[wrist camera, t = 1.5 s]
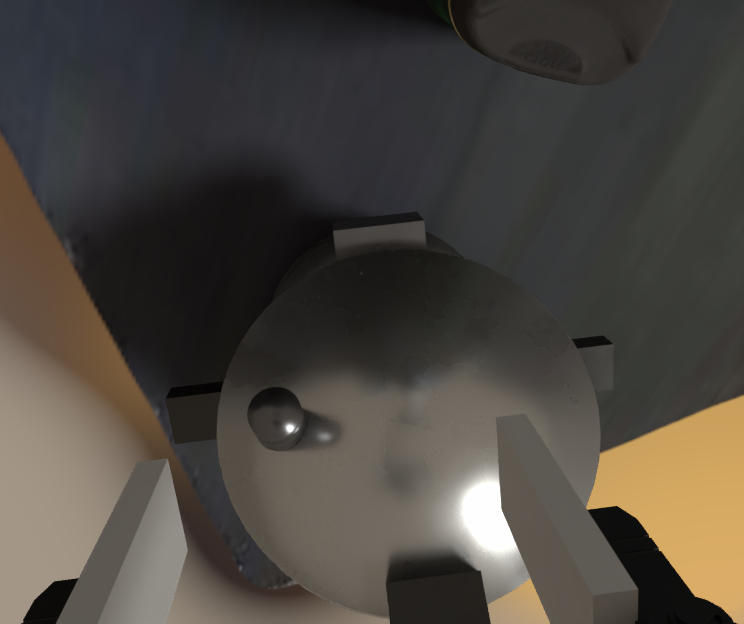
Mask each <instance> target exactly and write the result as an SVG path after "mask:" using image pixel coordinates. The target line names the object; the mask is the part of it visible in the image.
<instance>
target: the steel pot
mask: <svg viewBox="0 0 744 624" xmlns="http://www.w3.org/2000/svg"><path fill="white" fill-rule="evenodd" d="M332 225H333V234H332V235H330V236H327V237H325V238H323V239H322V240H320V241H319V242H317V243H316V244H314V245H312V246H311V247H310V248H309V249H307V250H306V251H305V252H304V253H303V254H302V255H300V256H299V257H298V258H297V260H296V261H295V262H294V263H293V264H292V265H291V266H290V267H289V269H288V270H287V272H286V273H285V275H284V276H283V277H282V279H281V281H280V283H279V285H278V287H277V289H276V291H275V293H274V295H273V298H272V301H271V303H272V302H273V301H274V300H275V299H276V298H277V297H279V296H280V295H281V294H282V293H283V292H284V291H286V290H287V289H288V288H290V287H291V286H293V285H294V284H295V283H297V282H298V281H299V280H301V279H303V278H305V277H306V276H308V275H310V274H312V273H314V272H315V271H317V270H319V269H321V268H323V267H326V266H328V265H331V264H333V263H335V262H338V261H340V260H344V259H347V258H351V257H354V256H358V255H361V254H367V253H373V252H379V251H388V250H424V251H432V252H438V253H444V254H450V255H453V256H457V257H460V258H463V257H462V256H461V255H460V254H459V253H458V252H457V251H456V250H455V249H454V248H453V247H451V246H450V245H448V244H447V243H446V242H444V241H443V240H441V239H439V238H437V237H435V236H434V235H432V234H430V233H427V232H425V224H424V220H423V218H422V217H421V216H420V215H419V214H418V212H411V213H402V214H393V215H384V216H375V217H367V218H358V219H349V220H340V221H332ZM571 340H572V341H573V342H574V344H575V346H576V348H577V350H578V352H579V354H580V355H581V357H582V359H583V361H584V363H585V365H586V368H587V371H588V374H589V376H590V379H591V382H592V385H593V387H594V392H597V391H606V390H613V349H614V344H613V343H611V342H610V341H609V340H608V339H607V338H606V337H604V336H595V337H587V338H578V339H571ZM223 383H224V382H215V383H207V384H199V385H190V386H182V387H174V388H171V389H170V391H169V393H168V395H167V397H166V403H167V408H168V413H169V417H170V422H171V427H172V432H173V436H174V441H175V444H179V443H187V442H195V441H203V440H211V439H217V415H218V406H219V401H220V395H221V390H222V386H223Z"/></svg>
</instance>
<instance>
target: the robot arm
mask: <svg viewBox="0 0 744 624" xmlns="http://www.w3.org/2000/svg"><path fill="white" fill-rule="evenodd" d="M496 427H497V446H498V465H499V484H500V503H501V511H502V513H503V516H504V518H505V520H506V522H507V525H508V527H509V529H510V532H511V534H512V536H513V539H514V541H515V543H516V545H517V548H518V550H519V552H520V555H521V557H522V559H523V562H524V564H525V566H526V568H527V571H528V573H529V575H530V578H531V580H532V582H533V585H534V587H535V589H536V591H537V594H538V596H539V598H540V601H541V603H542V605H543V607H544V610H545V612H546V614H547V616H548V619H549V621H550V624H737V623H734V622H733V620H732V618H731V617H730V616H729V615H728V614H727V613H726V612H725V611H724V610H723V609H722V608H721V607H719V606H717V605H715V604H713V603H711V602H709V601H708V600H705V599H702V598H698V597H695V596H694V595H693V593H692V592H691V591H690V589H689V588H688V587H687V585H686V584H685V583H684V581H683V580H682V579H681V577H680V576H679V575H678V573H677V572H676V571H675V569H674V568H673V567H672V566H671V564H670V563H669V561H668V560H667V559H666V558H665V556H664V555H663V553H662V552H661V551H659V549H658V547H657V545H656V544H655V543H654V541H653V540H652V538H649V534H648V533H647V532H646V530H645V529H644V528H643V526H642V525H641V524H640V522H639V521H638V520H637V519H636V518H635V517H633V516H631V515H630V514H629V513H627V512H626V511H624V510H622V509H621V508H619V507H618V506H613V507H606V508H598V509H590V510H587V509H586V507H585V506H584V504H583V503H582V501H581V499H580V498H579V496H578V495H577V493H576V492H575V490H574V489H573V487H572V485H571V484H570V482H569V481H568V479H567V478H566V476H565V475H564V473H563V471H562V470H561V468H560V467H559V465H558V464H557V462H556V461H555V459H554V457H553V456H552V454H551V453H550V451H549V450H548V448H547V447H546V445H545V443H544V442H543V440H542V439H541V437H540V436H539V434H538V433H537V431H536V429H535V428H534V426H533V425H532V423H531V422H530V420H529V419H528V417H527V415H526V414H518V415H510V416H502V417H496ZM187 551H188V550H187V545H186V541H185V536H184V532H183V527H182V522H181V518H180V513H179V508H178V504H177V499H176V495H175V490H174V486H173V481H172V476H171V472H170V467H169V463H168V459H160V460H153V461H144V462H138V463H137V464H136V466H135V468H134V470H133V472H132V474H131V476H130V478H129V480H128V482H127V484H126V486H125V488H124V490H123V492H122V494H121V496H120V498H119V500H118V502H117V503H116V505H115V507H114V509H113V512H112V514H111V516H110V518H109V519H108V521H107V524H106V526H105V527H104V529H103V531H102V534H101V535H100V537H99V539H98V541H97V543H96V545H95V547H94V549H93V551H92V553H91V555H90V557H89V559H88V561H87V563H86V565H85V567H84V569H83V571H82V573H81V575H80V577H79V578H77V579H69V580H62V581H54V582H53V583H52V584H51V585H50V586H49V587H48V588H47V589H46V590H45V591H44V592H43V593H41V594H40V595H39V596H38V597H37V598H36V599H35V600H34V602H33V604H32V605H31V607H30V609H29V611H28V612H27V614H26V616H25V618H24V619H23V621H24V622H23V623H21V624H166V622H167V618H168V615H169V612H170V608H171V605H172V601H173V598H174V595H175V591H176V588H177V584H178V581H179V578H180V575H181V571H182V568H183V564H184V561H185V557H186V554H187Z"/></svg>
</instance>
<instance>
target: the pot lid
mask: <svg viewBox="0 0 744 624" xmlns="http://www.w3.org/2000/svg"><path fill="white" fill-rule="evenodd" d="M518 414H526V415H527V417H528V419H529V420H530V422H531V423H532V425H533V426H534V428H535V429H536V431H537V433H538V434H539V436H540V437H541V439H542V440H543V442H544V443H545V445H546V447H547V448H548V450H549V451H550V453H551V454H552V456H553V457H554V459H555V461H556V462H557V464H558V465H559V467H560V468H561V470H562V471H563V473H564V475H565V476H566V478H567V479H568V481H569V482H570V484H571V485H572V487H573V489H574V490H575V492H576V493H577V495H578V496H579V498H580V499H581V501H582V503H583V504H584V506H585V507H586V506H587V503H588V500H589V497H590V495H591V491H592V489H593V486H594V482H595V478H596V473H597V468H598V462H599V453H600V436H601V434H600V422H599V410H598V406H597V401H596V397H595V392H594V387H593V385H592V382H591V379H590V376H589V374H588V371H587V368H586V365H585V363H584V361H583V359H582V357H581V355H580V354H579V352H578V350H577V348H576V346H575V344H574V342H573V341H572V340H571V338H570V337H569V335H568V334H567V332H566V331H565V329H564V328H563V326H562V325H561V324H560V323H559V322H558V320H557V319H556V318H555V317H554V316H553V315H552V314H551V312H550V311H549V310H548V309H547V308H546V307H545V306H544V305H543V304H542V303H540V302H539V301H538V300H537V299H536V298H535V297H534V296H533V295H532V294H530V293H529V292H528V291H526V290H525V289H524V288H522V287H521V286H519V285H518V284H516V283H515V282H514V281H512V280H511V279H509V278H507V277H505V276H503V275H502V274H500V273H498V272H496V271H494V270H492V269H490V268H488V267H486V266H483V265H481V264H478V263H476V262H473V261H471V260H467V259H464V258H460V257H457V256H453V255H450V254H444V253H438V252H432V251H424V250H388V251H379V252H373V253H367V254H361V255H358V256H354V257H351V258H347V259H344V260H340V261H338V262H335V263H333V264H331V265H328V266H326V267H323V268H321V269H319V270H317V271H315V272H314V273H312V274H310V275H308V276H306V277H305V278H303V279H301V280H299V281H298V282H297V283H295V284H294V285H293V286H291V287H290V288H288V289H287V290H286V291H284V292H283V293H282V294H281V295H280V296H279V297H277V298H276V299H275V300H274V301H273V302H272V303H271V304H270V305H269V306H268V307H267V308H266V309H265V310H264V311H263V312H262V313H261V315H260V316H259V317H258V318H257V319H256V321H255V322H254V323H253V324H252V325H251V327H250V328H249V330H248V332H247V333H246V335H245V336H244V338H243V339H242V341H241V342H240V344H239V346H238V348H237V350H236V352H235V354H234V356H233V358H232V360H231V363H230V365H229V367H228V370H227V374H226V377H225V380H224V383H223V386H222V390H221V395H220V401H219V406H218V415H217V445H218V457H219V462H220V466H221V471H222V475H223V480H224V483H225V486H226V489H227V491H228V494H229V497H230V499H231V502H232V505H233V507H234V509H235V511H236V512H237V514H238V516H239V518H240V520H241V522H242V523H243V525H244V527H245V529H246V530H247V532H248V533H249V534H250V536H251V537H252V538H253V540H254V541H255V542H256V544H257V545H258V546H259V548H260V549H261V550H262V551H263V552H264V553H265V554H266V555H267V556H268V557H269V558H270V559H271V560H272V561H273V562H274V563H275V564H276V565H277V566H278V567H279V568H280V569H281V570H282V571H283V572H284V573H285V574H286V575H288V576H289V577H290V578H292V579H293V580H294V581H296V582H297V583H298V584H300V585H301V586H302V587H304V588H305V589H307V590H308V591H310V592H312V593H314V594H316V595H317V596H319V597H321V598H323V599H325V600H326V601H328V602H330V603H333V604H335V605H338V606H341V607H343V608H346V609H349V610H351V611H354V612H357V613H362V614H366V615H371V616H375V617H379V618H387V619H390V624H491V623H490V618H489V612H488V607H487V604H489V603H491V602H493V601H495V600H496V599H498V598H500V597H502V596H504V595H505V594H508V593H509V592H511V591H513V590H515V589H516V588H517V587H519V586H520V585H522V584H523V583H524V582H526V581H527V580H528V579H529V578H530V575H529V573H528V571H527V568H526V566H525V564H524V562H523V559H522V557H521V555H520V552H519V550H518V548H517V545H516V543H515V541H514V539H513V536H512V534H511V532H510V529H509V527H508V525H507V522H506V520H505V518H504V516H503V513H502V511H501V503H500V484H499V465H498V446H497V427H496V417H502V416H510V415H518Z"/></svg>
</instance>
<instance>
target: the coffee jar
mask: <svg viewBox="0 0 744 624" xmlns="http://www.w3.org/2000/svg"><path fill="white" fill-rule="evenodd" d="M426 1H427V3H428V5H429V6H430V8H431V9H432V10H433V12H434V13H435V14H436V15H437V16H439V17H440V18H441V19H442V20H444V21H445V22H446V23H448V24H449V25H450V26H452V27H453V28H455V30H456V32H457V33H458V35H459V36H460V38H461V39H462V40H463V41H464V42H465V43H466V44H467V45H468V46H470V47H471V48H472V49H474V50H475V51H477V52H479V53H481V54H483V55H485V56H487V57H489V58H491V59H493V60H495V61H497V62H500V63H503V64H505V65H508V66H510V67H513V68H515V69H517V70H520V71H523V72H527V73H529V74H533V75H536V76H541V77H544V78H549V79H554V80H559V81H563V82H568V83H572V84H579V85H599V84H603V83H607V82H610V81H613V80H615V79H618V78H620V77H621V76H623V75H625V74H626V73H628V72H629V71H630V70H632V69H633V68H634V67H635V66H636V65H637V64H638V63H639V62H640V61H642V60H643V59H644V57H645V56H646V54H647V53H648V51H649V49H650V48H651V46H652V44H653V42H654V40H655V39H656V37H657V35H658V33H659V31H660V29H661V26H662V24H663V22H664V20H665V18H666V16H667V14H668V11H669V9H670V6H671V4H672V2H673V0H426Z"/></svg>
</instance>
